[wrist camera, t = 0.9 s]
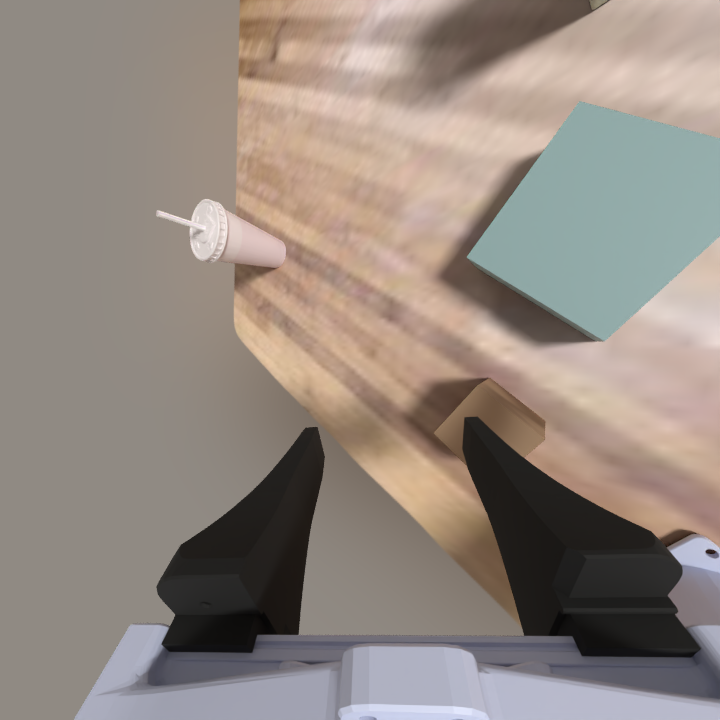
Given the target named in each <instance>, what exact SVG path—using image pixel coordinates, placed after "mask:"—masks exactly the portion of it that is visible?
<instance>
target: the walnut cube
mask: <svg viewBox="0 0 720 720" xmlns="http://www.w3.org/2000/svg"><path fill="white" fill-rule="evenodd" d="M477 416H478V417H479V418H480V419H481V420H482V421H483V422H484V423H485V424H486V425H487V426H488V427H489V428H490V429H491V430H492V431H494V432H495V433H496V434H497V435H498V436H499V437H500V438H501V439H502V440H503V441H504V442H506V443H507V444H508V445H509V446H510V447H511V448H513V449H514V450H515V451H516V452H517V453H518V454H520V455H521V456H522V457H523V458H524V457H525V456H526V455H528V454H529V453H530V452H531V451H532V450H533V449H535V448H536V447H537V446H538V445H539V444H541V443H542V442H543V441H544V440H545V420H543V419H542V418H541V417H540V416H538V415H537V414H536V413H534V412H533V411H532V410H531V409H529V408H528V407H527V406H525V405H524V404H523V403H522V402H520V401H519V400H518V399H516V398H515V397H514V396H513V395H511V394H510V393H509V392H507V391H506V390H505V389H504V388H502V387H501V386H500V385H498V384H497V383H496V382H495V381H493V380H492V379H491V378H488V379H487V380H485V381H483V382H482V383H480V384H478V385H477V386H476V387H475V388H474V389H473V391H472V392H471V393H470V394H469V395H468V396H467V397H466V398H465V399H464V400H463V401H462V403H461V404H460V405H459V406H458V407H457V408H456V409H455V410H454V411H453V412H452V414H451V415H450V416H449V417H448V418H447V419H446V420H445V421H444V422H443V423H442V424H441V426H440V427H439V428H438V429H437V430H436V431H435V432H434V434H435V435H436V436H437V437H438V438H439V439H440V440H441V441H442V442H443V443H444V444H445V445H446V446H447V447H448V448H449V449H450V450H451V451H452V452H453V453H454V454H455V455H456V456H457V457H458V458H459V459H460V460H461V461H462V462H463V463H464V464H465V465H466V466H467V464H466V461H465V457H464V454H463V450H462V444H463V430H464V417H477Z"/></svg>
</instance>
